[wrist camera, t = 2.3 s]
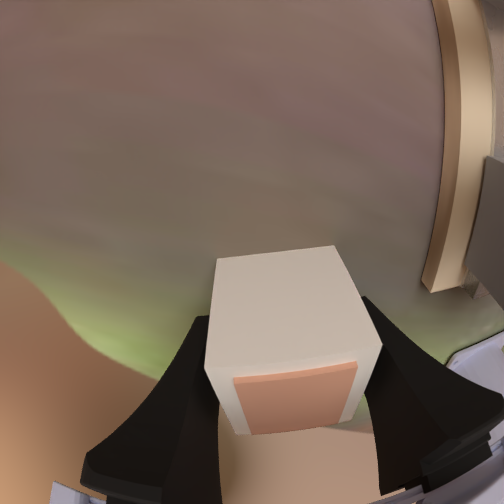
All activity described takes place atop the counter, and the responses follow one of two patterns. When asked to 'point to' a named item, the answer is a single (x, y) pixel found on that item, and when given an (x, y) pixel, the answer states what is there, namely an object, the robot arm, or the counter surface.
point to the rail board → (470, 152)
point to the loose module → (288, 341)
